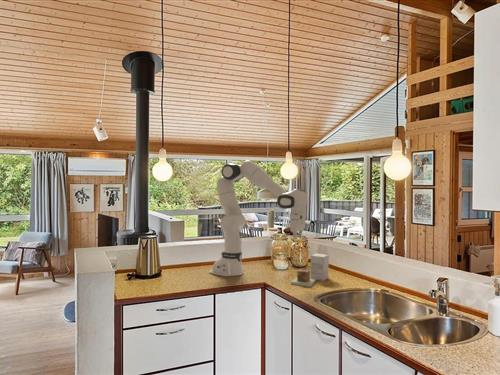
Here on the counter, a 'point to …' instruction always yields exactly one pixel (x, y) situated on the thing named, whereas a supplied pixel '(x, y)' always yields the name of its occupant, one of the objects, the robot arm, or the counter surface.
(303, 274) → the block
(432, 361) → the counter surface
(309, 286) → the plate
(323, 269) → the supplement box
